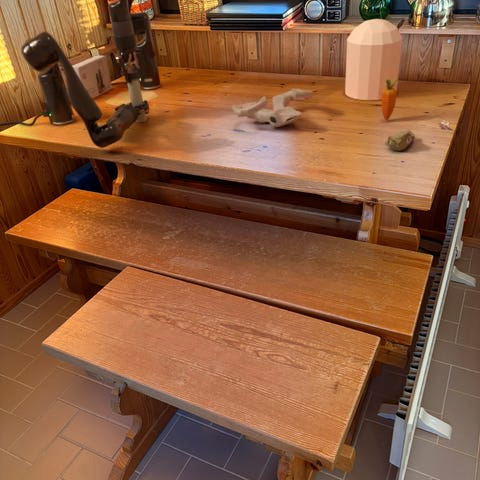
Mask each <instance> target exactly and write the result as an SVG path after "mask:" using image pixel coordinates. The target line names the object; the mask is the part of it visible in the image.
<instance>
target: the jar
mask: <svg viewBox="0 0 480 480" xmlns="http://www.w3.org/2000/svg"><path fill="white" fill-rule="evenodd" d="M126 85H127V89H128V94H129V99H130V102H131V103H132V106H133V105H137V104H141V103H142V102H143V101H144V100H143V94H142V90H141V89H142V88H141V87H140V82H139V79H134V80H132V83H127V84H126ZM147 120H148V119H147V114H145V113H141V114H140V115H138V118H137V120H136V122H135V123H143V122H145V121H147Z"/></svg>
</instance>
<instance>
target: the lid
mask: <svg viewBox="0 0 480 480" xmlns="http://www.w3.org/2000/svg"><path fill="white" fill-rule="evenodd" d="M129 73H130V75H131V80H134V79H138V78H139V72H138V70H133V69H130V72H129Z"/></svg>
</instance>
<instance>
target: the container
mask: <svg viewBox="0 0 480 480" xmlns="http://www.w3.org/2000/svg"><path fill="white" fill-rule="evenodd" d="M402 45H403V36H402V34H401V32H400V31H399V28H398V27H397V25H395V24H393V23H392V22H390V21H389V20H385V19H383V18H373V19H367V20H364V21H363V22H362V23H359V25H357V26H355V27H354V28H353V30H352V31H351V32H350V34H349V35H348V37H347V38H346V59H345V82H344V83H345V84H344V85H345V86H344V93H345V94H344V95H346V96H347V97H348V98H351V99H353V100H354V99H355V100H360V101H381V98H382V91H383V90H384V89H386V88H387V87H386V85H387V83H386V79H390V82H391V84H393V82H394V80H395V79H397V81H396V83H395V84H394V86H393V88H394V89H395V90H396V91H397V92H398V83H399V74H400V64H401V57H402ZM389 86H390V85H389ZM391 86H392V85H391Z"/></svg>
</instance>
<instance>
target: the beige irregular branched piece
mask: <svg viewBox="0 0 480 480" xmlns="http://www.w3.org/2000/svg"><path fill="white" fill-rule="evenodd" d="M313 93H314V92H313V91H312V90H307V89H302V88H292V89H291V90H289V91H286V92H283V93H281V94H277V95H275V96H272V102H271V103H272V107H273V109H272V110H271V109H266V108H265V107H267V106H268V98H267V96H266V95H264V96H262V97H261V98H260V99H259V100H258V101H257V102H256V101H251V102H246V103H240V104H234V105H232V106H231V107H232V108H231V109H232V112H233V113H234V115H235V116H237V118H244V117H246V118H248V119H252V120H257V122H259V123H269V124H270V126H272V127H274V128H280V127H284V126H287V125H290V124H294V123H296V121H298V120H301V119H302V112H301V111H300V110H297V109H295V108H294V107H291V106H288V105H289V103H290V102H292V101H299V100H308V101H310V100H311V99H312V97H313Z"/></svg>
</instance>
